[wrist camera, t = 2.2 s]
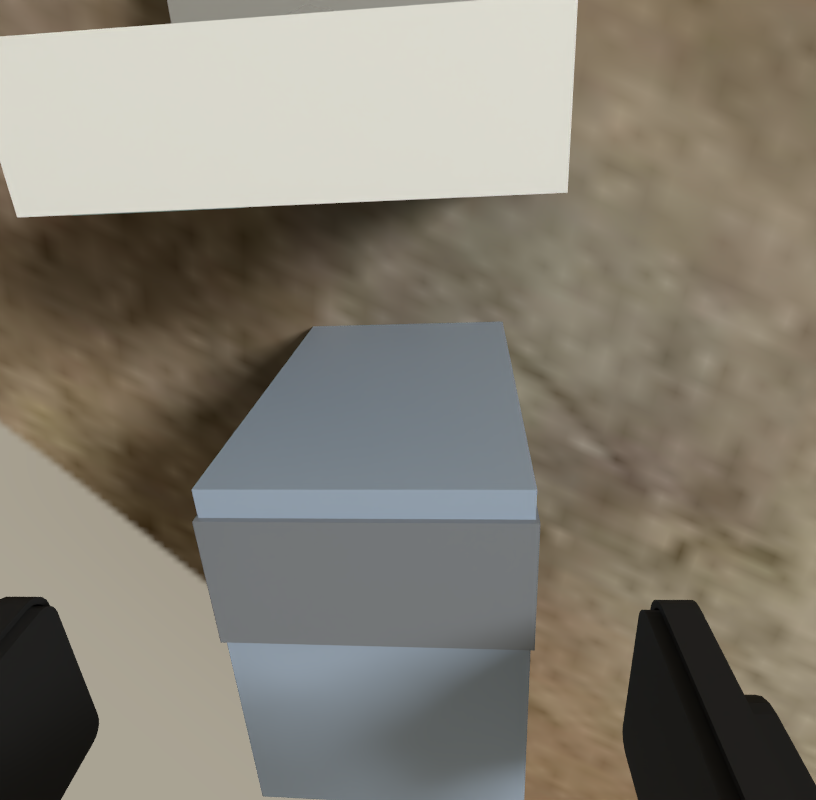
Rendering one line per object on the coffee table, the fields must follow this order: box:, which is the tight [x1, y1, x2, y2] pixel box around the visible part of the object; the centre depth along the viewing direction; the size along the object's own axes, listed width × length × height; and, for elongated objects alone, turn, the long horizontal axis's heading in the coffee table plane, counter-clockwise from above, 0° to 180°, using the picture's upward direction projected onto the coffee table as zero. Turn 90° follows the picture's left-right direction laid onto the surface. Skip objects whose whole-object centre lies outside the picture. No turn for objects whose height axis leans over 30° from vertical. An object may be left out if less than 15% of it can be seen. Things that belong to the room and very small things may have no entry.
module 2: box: [192, 322, 540, 800], centre depth 14 cm, size 7×5×8 cm
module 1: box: [0, 0, 578, 217], centre depth 10 cm, size 2×7×6 cm, turn 93°
